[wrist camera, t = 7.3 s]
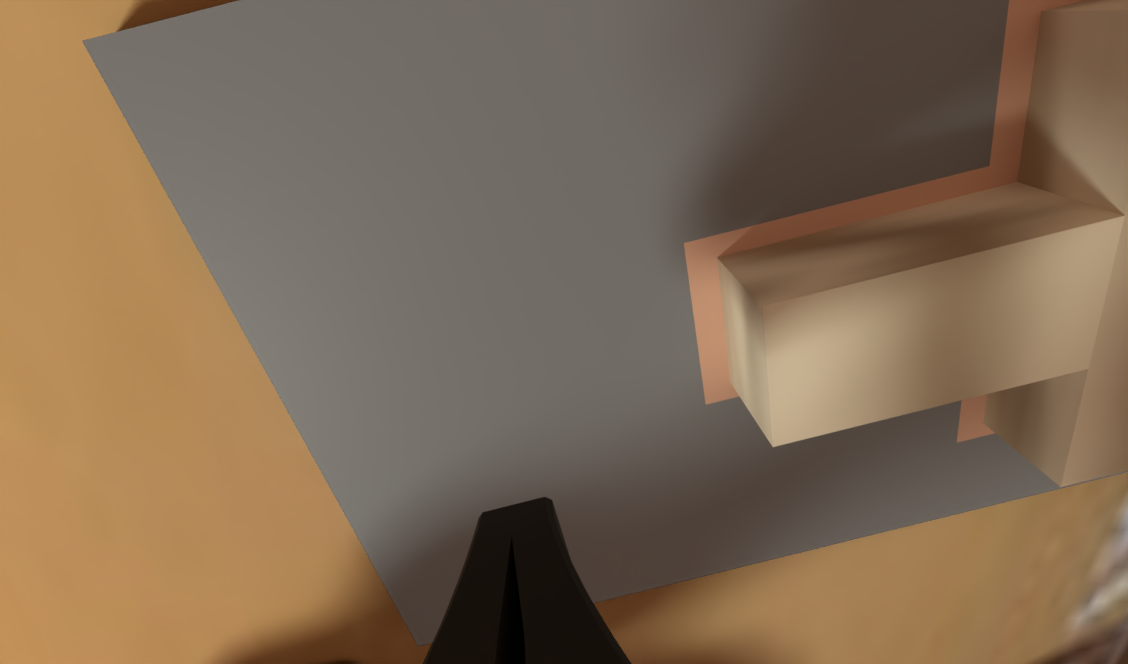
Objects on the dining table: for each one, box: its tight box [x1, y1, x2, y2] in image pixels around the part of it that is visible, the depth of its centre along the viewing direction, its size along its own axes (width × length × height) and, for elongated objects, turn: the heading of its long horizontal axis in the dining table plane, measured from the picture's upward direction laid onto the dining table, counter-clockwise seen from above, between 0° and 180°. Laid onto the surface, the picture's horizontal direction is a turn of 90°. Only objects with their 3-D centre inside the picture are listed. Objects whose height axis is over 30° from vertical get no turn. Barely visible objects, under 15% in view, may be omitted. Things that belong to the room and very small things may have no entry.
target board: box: [82, 0, 1128, 646], centre depth 17 cm, size 28×20×1 cm
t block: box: [717, 0, 1128, 487], centre depth 15 cm, size 12×12×3 cm
